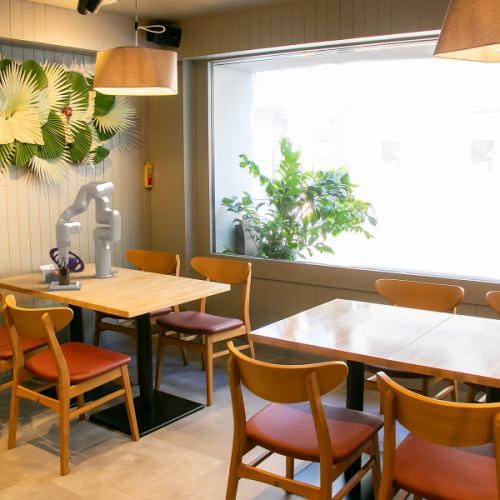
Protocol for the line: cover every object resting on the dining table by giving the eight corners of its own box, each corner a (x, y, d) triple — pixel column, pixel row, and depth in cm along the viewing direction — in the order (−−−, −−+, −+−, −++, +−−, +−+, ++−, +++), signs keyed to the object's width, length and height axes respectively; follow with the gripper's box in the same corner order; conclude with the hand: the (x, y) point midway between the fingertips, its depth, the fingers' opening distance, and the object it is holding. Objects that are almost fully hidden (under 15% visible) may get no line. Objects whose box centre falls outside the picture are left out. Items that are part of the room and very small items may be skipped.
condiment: (67, 284, 360) (67, 264, 358) (73, 286, 353) (73, 266, 351) (55, 286, 355) (54, 265, 353) (61, 288, 348) (60, 267, 347)
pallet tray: (81, 284, 364) (81, 280, 364) (80, 290, 349) (80, 285, 349) (49, 285, 361) (49, 281, 360) (46, 291, 345) (46, 286, 345)
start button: (59, 275, 374) (59, 270, 374) (58, 277, 369) (58, 272, 369) (50, 275, 373) (50, 270, 373) (50, 277, 368) (49, 272, 368)
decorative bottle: (68, 275, 395) (66, 236, 391) (43, 272, 403) (41, 234, 400) (91, 270, 415) (90, 233, 411) (66, 267, 423) (65, 231, 420)
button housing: (64, 280, 378) (64, 272, 377) (63, 283, 368) (62, 275, 367) (47, 280, 376) (46, 272, 375) (45, 284, 366) (45, 275, 365)
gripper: (57, 242, 359) (59, 271, 362) (55, 246, 342) (56, 277, 345) (71, 242, 361) (72, 270, 363) (69, 246, 344) (70, 276, 347)
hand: (64, 273), depth 354 cm, fingers open, 9 cm apart
